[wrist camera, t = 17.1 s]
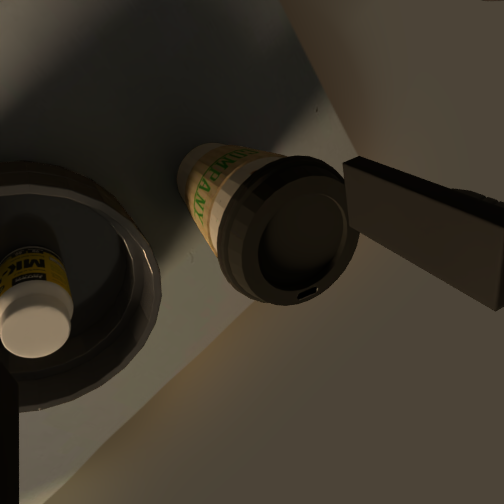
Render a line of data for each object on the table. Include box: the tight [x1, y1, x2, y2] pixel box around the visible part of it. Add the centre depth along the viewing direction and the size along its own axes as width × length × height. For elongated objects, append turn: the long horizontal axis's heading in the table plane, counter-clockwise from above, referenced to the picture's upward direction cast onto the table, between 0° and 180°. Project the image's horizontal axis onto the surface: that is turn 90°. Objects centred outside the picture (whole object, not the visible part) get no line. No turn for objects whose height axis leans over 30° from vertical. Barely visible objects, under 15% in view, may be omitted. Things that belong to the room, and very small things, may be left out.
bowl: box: [0, 161, 162, 413], centre depth 31 cm, size 17×17×6 cm
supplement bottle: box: [0, 246, 73, 358], centre depth 30 cm, size 5×5×8 cm
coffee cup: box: [177, 143, 360, 306], centre depth 32 cm, size 10×10×15 cm
